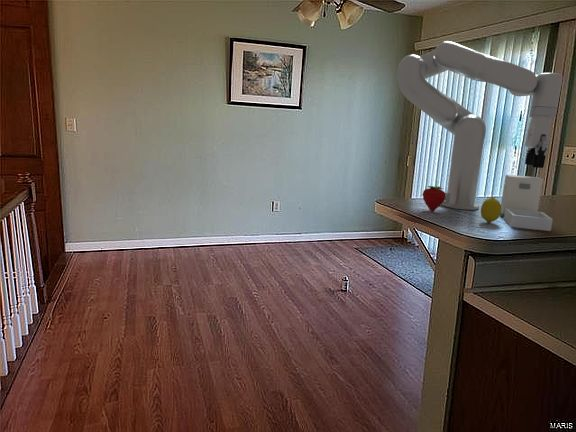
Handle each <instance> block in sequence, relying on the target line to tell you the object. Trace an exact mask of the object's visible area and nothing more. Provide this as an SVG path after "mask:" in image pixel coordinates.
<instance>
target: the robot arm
mask: <svg viewBox="0 0 576 432" xmlns="http://www.w3.org/2000/svg"><path fill="white" fill-rule="evenodd" d="M446 71H450V72H452V73H455V74H457V75H460V76H463V77H465V78H467V79H470V80H472V81H476V82H482V83H488V84H491V85H492V84H493V85H495V86H498V87H500V88H502V89H505V90H508V91H509V93H510V94H511V95H513V96H515V97H527V96H532V100H531V106H530V112H529V118H530V121H529V124H528V130H527V134H526V138H525V143H524V146H525V147H526V148H527V149H526V154H525V161H524V164H525V166H526V165H527V166H530V165H531V166H532V168H536V169H543V168H544V166H545V163H546V162H545V161H546V155H547V150H548V149H547V148H548V147H549V145H550V139H551V133H552V132H551V131H552V126H553V119H556V117H557V114H558V113H557V111H558V107H559V100H560V95H561V89H562V84H563V79H564V78H563V75H562V74H561V73H557V72H542V73H538V74H536V73H534V72H533V71H532V70H530V69H527V68H526V67H523V66H520V65H518V64H514V63H512V62H509V61H506V60H503V59H501V58H497V57H494V56H491V55H488V54H485V53H482V52H480V51H477V50H475V49H471V48H469V47H467V46H464V45H461V44H460V43H456V42H453V41H449V40H446V41H442V42H440V43H439V44H438V45H437V46H436V47H435V48H434V50H431V51H429V52H427V53H424V54H421V55H417V54H414V53H412V54H408V55H406V56H404V57H402V59H401V61H400V62H399V64H398V67H397V74H396V78H397V79H396V80H397V85H398V87H399V90H400V92H401V93H402V95H403V96H404V97H405V98H406V99H407V100H408V101H409V102H410V103H411V104H412V105H414V106H415V107H417V108H418V110H419V109H420V110H421V111H422V112H423V113H425V114H426V116H429V117H430V118H431V119H432V121H433V122H435V123H437V124H438V125H440V126H441V127H442V128H443V129H445V130H446V131H448V132H449V133H451V134H452V135H453V144H452V152H451V159H450V160H451V162H450V168H449V175H448V184H447V191H446V190H445V191H444V192H445V195H446V197H445V199H444V202H443V203H442V204H441V205H440V206H443V207H446V208H449V209H450V208H451V209H456V210H465V211H467V210H468V211H476V210H478V209H479V207H480V205H479V204H478V203H476V198H477V197H476V196H477V189H478V183H479V175H480V170H481V163H482V156H483V148H484V144H485V138H486V134H487V133H486V132H487V125H486V123H485V121H484V119H483V118H482V117H480V116H478V115H476V114H474V113H473V112H471V111H470V110H469V109H467V108H466V107H464V106H462V105H461V104H460V103H458V102H457V100H455V99H454V98H453V97H450V96H448V95H446V94H445V93H443V92H442V91H440V90H439V89H437V88H436V87H435V86H434V85H432V84H431V83H429V82H428V81H427V79H429V78H431V77H434V76H437V75H439V74H442V73H446Z"/></svg>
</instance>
